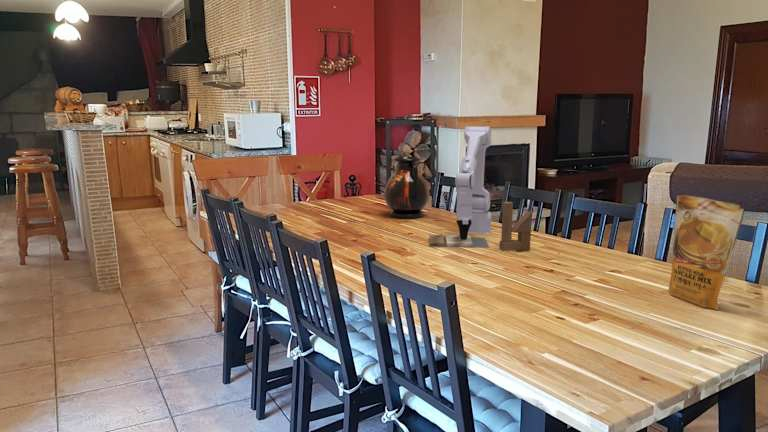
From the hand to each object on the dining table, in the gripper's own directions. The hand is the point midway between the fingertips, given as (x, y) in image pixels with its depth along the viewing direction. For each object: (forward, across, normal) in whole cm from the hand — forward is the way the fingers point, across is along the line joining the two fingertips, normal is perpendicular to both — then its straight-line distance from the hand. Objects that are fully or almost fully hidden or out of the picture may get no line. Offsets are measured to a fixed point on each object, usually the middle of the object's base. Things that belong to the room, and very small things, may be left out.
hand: (463, 239), depth 221 cm
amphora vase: (+2, -56, -23) cm, 61 cm away
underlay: (+2, 0, -2) cm, 3 cm away
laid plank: (+2, 0, -10) cm, 10 cm away
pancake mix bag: (+2, +62, +58) cm, 85 cm away
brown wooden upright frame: (+2, +9, +18) cm, 20 cm away
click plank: (+1, 0, -2) cm, 2 cm away
